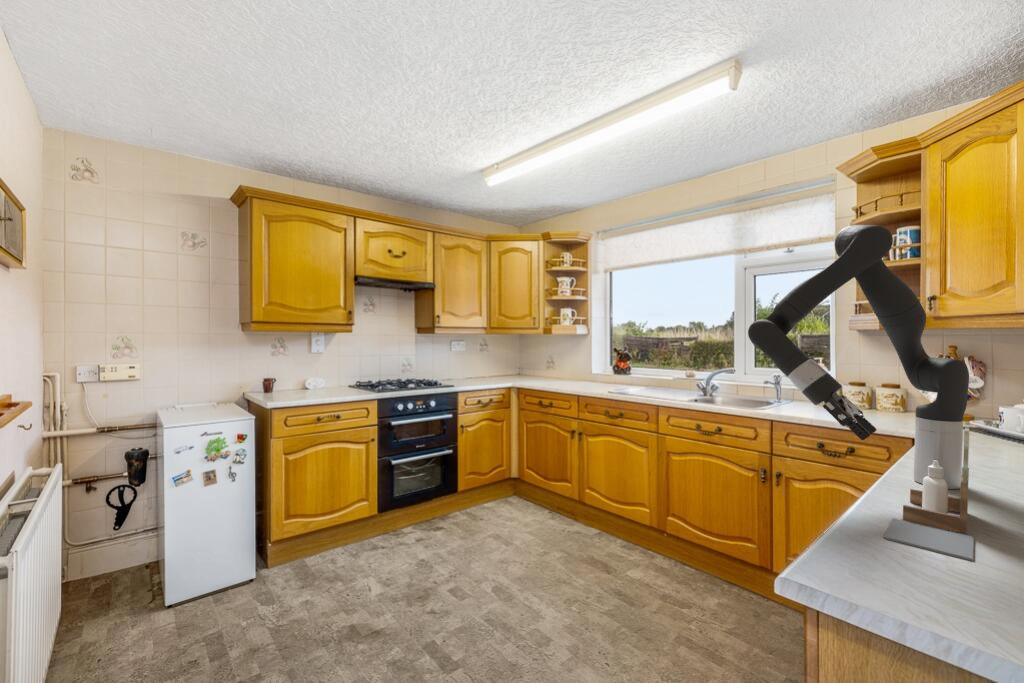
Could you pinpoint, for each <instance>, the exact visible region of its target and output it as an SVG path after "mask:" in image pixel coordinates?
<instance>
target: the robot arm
mask: <svg viewBox="0 0 1024 683" xmlns="http://www.w3.org/2000/svg"><path fill="white" fill-rule="evenodd" d="M835 236H836V237H835V239H834V250H835V253H836V255H837V256H838V258H836V259H835V260H834V261H833V262H832V263H831V264H829V265H828V266H827V267H824V269H822V270H820V271H819V272H817V273H816V274H813V275H812V276H810V277H808V278H807V279H805V280H803V281H802V282H800V283H798V285H796V286H794V288H793V289H792V290H790V291H789V292H788V293H787V294H786V295H784V297H783V298H782V299H780V301H779V302H777V304H776V305H775V306H774V308H773V311H772V312H771V313H770V314H769V315H768V316H767V317H766V318H765V319H763V318H762V319H757V320H755V321H753V322H752V323H751V324H750V325H749V328H748V331H747V335H748V339H749V340H750V342H751V344H752V345H753V346H754V347H755V348H758V349H759V350H761V352H763V353H764V354H765V355H766V356H767V357H769V359H771V361H772V363H773V364H774V365H775V366H776V367H777V368H778V370H780V372H782V373H783V375H785V377H787V379H789V381H790V382H791V383H792V385H794V387H796V388H797V389H798V390H799V391H800V392H801V394H802V395H803V396H805V397H806V399H808V400H809V401H810V402H811V403H812V404H813V405H814V406H818V405H819V406H820V405H821V404H822V403H824V404H822V407H823V409H824V410H826V411H827V412H828V414H830V415H831V417H833V419H835V421H837V423H839V424H840V426H842V427H846V428H848V429H850V431H852V433H853V434H855V435H856V437H858V439H860V440H861V441H864V440H866V439H868V438H869V437H870V436H871V435H872V434H874V433H875V432H877V428H876V427H875V426H874V425H873V424H872V423H871V422H870V421H869V420H868V419H867V418H866V417H865V415H864V412H863V411H862V410H861V409H859V408H858V407H857V406H856V405H855V404H854V403H853V402H852V401H851V400H850V399H849V398H847V396H846V395H844V394H842V395H841V396H840V395H839V394H838V392H839V391H840V390H841V389H842V388H843V386H842V384H841V383H840V382H839V381H838V380H837V379H835V377H833V376H832V375H831V374H830V373H829V372H828V371H826V370H825V369H824V368H823V367H822V366H821V365H820V364H818V362H815V361H814V360H813V359H812V358H811V357H810V356H809V355H808V354H806V353H805V352H804V351H803V350H802V349H801V348H800V347H798V346H797V345H796V344H794V343H793V341H792V340H791V339H790V338H789V337H788V334H789V333H790V332H791V330H792V329H794V327H795V326H796V325H797V324H798V323H799V322H800V321H802V320H804V318H806V316H808V315H809V314H810V313H811V312H812V311H813V310H814V309H816V307H818V306H819V305H820V304H821V303H822V302H823V301H825V300H826V299H827V298H828V297H829V296H830V295H832V294H833V293H834V292H836V291H837V290H838V289H840V288H841V287H843V286H844V285H845V284H846V283H849V282H850V281H851V280H852V279H855V280H856V282H857V283H858V285H859V287H860V289H861V291H862V294H863V295H864V296H865V298H866V300H867V302H868V303H869V305H870V307H871V308H872V310H873V313H874V315H875V316H876V318H877V320H878V321H879V323H880V324H881V326H882V328H883V330H884V331H885V332H886V334H887V336H888V338H889V340H890V343H891V344H892V345H893V347H894V350H895V352H896V353H897V356H898V358H899V360H900V363H901V366H902V368H903V370H904V373H905V375H906V377H907V379H908V381H909V382H910V384H911V385H912V386H913V387H914V388H915V389H916V390H918V391H921V392H928V393H937V394H936V398H935V400H933V401H932V402H930V403H926V404H920V405H917V406H916V407H915V418H914V419H915V420H914V422H915V425H914V429H915V430H914V458H913V460H914V461H913V462H914V463H913V481H915V482H917V483H918V484H922V485H923V479H924V477H926V476H929V475H928V466H930V465H932V464H933V461H934V460H936V461H938V463H939V466H940V467H942V468H943V479H944V480H945V481H946V483H947V485H948V490H960V488H961V475H962V467H963V444H964V431H963V430H964V415H965V412H966V410H967V406H968V396H969V395H968V393H969V384H970V372H969V368H968V366H967V365H966V363H965V362H964V361H963V360H961V359H958V358H951V357H950V358H949V357H947V358H946V357H931V356H929V355H928V354H927V352H926V351H925V349H924V346H923V344H922V342H921V341H922V336H923V333H924V330H925V328H926V325H927V324H926V323H927V313H926V311H925V309H924V306H923V305H922V304H921V302H920V300H919V298H918V296H917V294H916V293H915V292H914V291H913V290H912V289H911V288H910V287H909V286H908V284H906V282H904V281H903V280H902V279H901V278H900V277H898V276H897V275H896V274H895V273H894V272H893V271H892V270H891V269H890V268H889V267H888V266H887V265H886V263H885V262H884V260H883V258H884V257H886V256H887V255H888V253H889V252H890V251H891V248H892V246H893V243H894V239H893V238H894V237H893V234H892V232H891V231H890V230H889V229H888V228H886V227H884V226H881V225H877V224H853V225H849V226H846V227H843V228H842V229H841V230H840V231H839V232H838V233H837V235H835Z"/></svg>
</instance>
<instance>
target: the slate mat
mask: <svg viewBox="0 0 1024 683" xmlns="http://www.w3.org/2000/svg"><path fill="white" fill-rule="evenodd" d="M883 539H884V540H888V541H892V542H896V543H899V544H904V545H907V546H910V547H915V548H919V549H924V550H927V551H931V552H936V553H939V554H943V555H947V556H952V557H954V558H955V557H956V558H958V559H963V560H966V561H969V562H970V561H971V562H974V542H975V541H974V536H973V535H970V534H962V533H957V532H953V531H948V530H944V529H940V528H935V527H931V526H926V525H922V524H918V523H913V522H909V521H904V520H903V519H899V518H894V517H892V519H891V521H890V523H889V525H888V528H886V531H885V533H884V535H883Z"/></svg>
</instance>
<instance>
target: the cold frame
mask: <svg viewBox="0 0 1024 683" xmlns="http://www.w3.org/2000/svg"><path fill="white" fill-rule="evenodd" d="M963 430H964V431H963V458H962V474H961V488H959V490H960V491H959V492H960V493H959V494H960V495H959V496H960V497H957V496H952V495H948V511H949V510H950V512H954V511H955V512H954V513H959V512H960V513H959V515H953V514H950V513H947V514H946V513H941V512H936V511H931V510H927V509H922V507H916V506H912V505H907V504H903V506H902V520H903V521H908V522H912V523H917V524H921V525H925V526H930V527H934V528H939V529H943V530H947V531H948V530H949V531H952V532H956V533H957V532H958V533H961V534H965V535H967V529H968V525H967V524H968V510H969V509H968V505H969V475H970V473H969V472H970V471H969V470H970V468H969V452H970V451H969V448H970V421H965V424H964V429H963ZM909 493H910V494H909V495H910V496H909V502H911V503H910V504H915V505H919V504H920V506H922V493H923V490H919V489H913V488H910V492H909Z"/></svg>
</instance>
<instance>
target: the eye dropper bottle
mask: <svg viewBox="0 0 1024 683" xmlns="http://www.w3.org/2000/svg"><path fill="white" fill-rule="evenodd" d="M928 475H929V476H926V477H924V479H923V484H922V491H923V493H922V505H921V508H922V509H927V510H931V511H936V512H941V513H946V514H948V512H949V510H948V496H949V489H948V485H947V483H946V481H945V480H944V479H943V468H942V467H940V466H939V463H938V461H936V460H934V461H933V464H932V465H930V466H928Z"/></svg>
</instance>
